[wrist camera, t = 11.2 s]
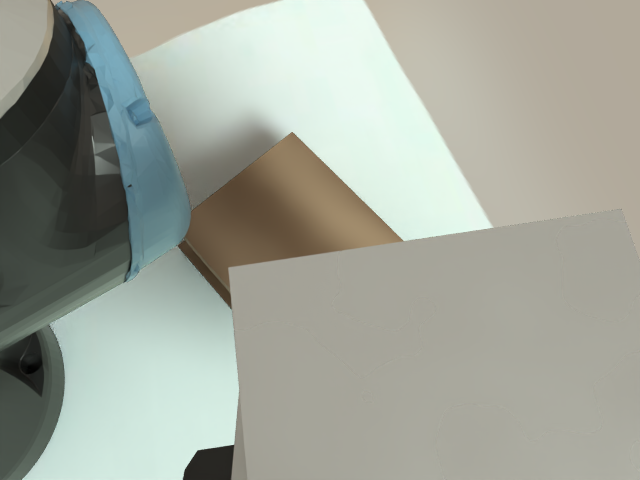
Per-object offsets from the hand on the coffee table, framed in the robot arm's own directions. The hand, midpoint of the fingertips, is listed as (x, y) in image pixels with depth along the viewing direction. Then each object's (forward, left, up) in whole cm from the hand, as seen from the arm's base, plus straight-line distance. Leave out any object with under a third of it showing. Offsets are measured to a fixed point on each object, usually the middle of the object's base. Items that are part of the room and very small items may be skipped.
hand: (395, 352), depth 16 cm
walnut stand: (-9, +7, -24) cm, 27 cm away
